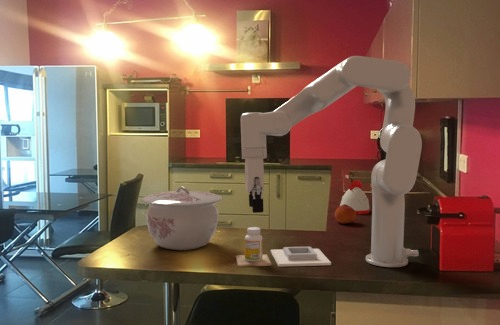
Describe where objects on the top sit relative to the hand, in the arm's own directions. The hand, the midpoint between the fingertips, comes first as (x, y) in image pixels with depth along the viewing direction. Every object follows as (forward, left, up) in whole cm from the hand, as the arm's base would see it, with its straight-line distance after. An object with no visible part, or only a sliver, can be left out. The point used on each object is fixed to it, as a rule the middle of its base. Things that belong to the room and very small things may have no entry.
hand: (256, 209), depth 150 cm
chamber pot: (+23, -21, -16) cm, 35 cm away
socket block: (-14, -2, -16) cm, 22 cm away
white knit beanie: (-56, -78, -17) cm, 98 cm away
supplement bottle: (+1, 0, -16) cm, 16 cm away
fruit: (-44, -52, -17) cm, 70 cm away
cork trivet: (+1, 0, -16) cm, 16 cm away
